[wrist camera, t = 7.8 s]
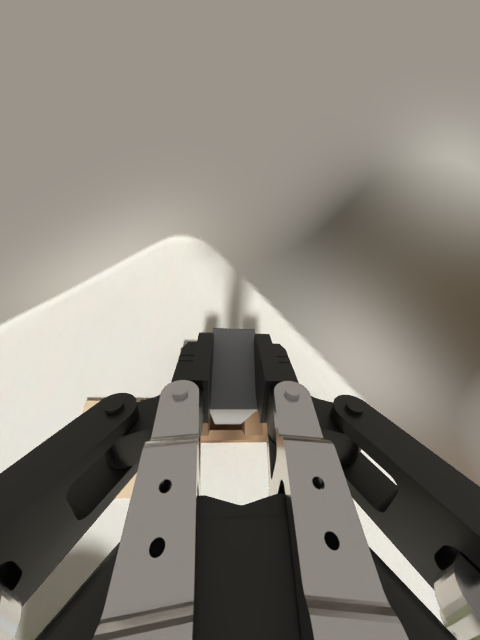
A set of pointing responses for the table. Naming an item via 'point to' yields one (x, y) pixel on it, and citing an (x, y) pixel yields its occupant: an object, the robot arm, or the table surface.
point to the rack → (235, 431)
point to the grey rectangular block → (233, 376)
